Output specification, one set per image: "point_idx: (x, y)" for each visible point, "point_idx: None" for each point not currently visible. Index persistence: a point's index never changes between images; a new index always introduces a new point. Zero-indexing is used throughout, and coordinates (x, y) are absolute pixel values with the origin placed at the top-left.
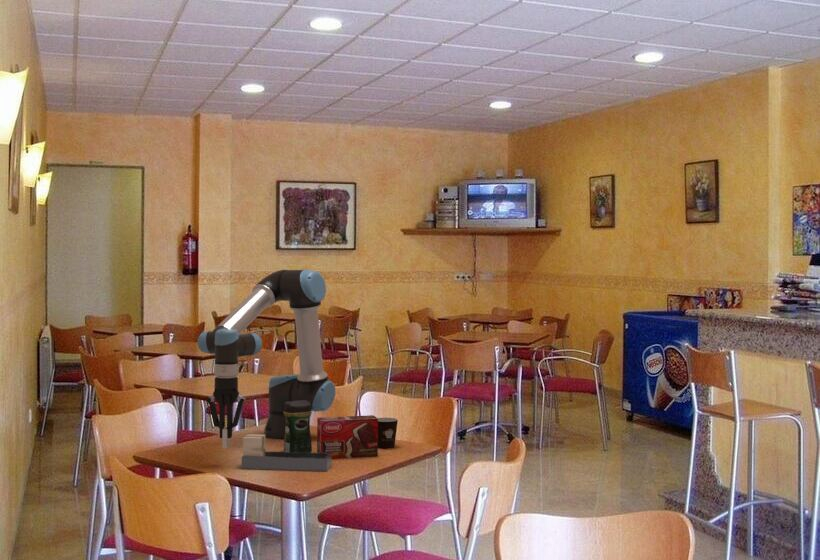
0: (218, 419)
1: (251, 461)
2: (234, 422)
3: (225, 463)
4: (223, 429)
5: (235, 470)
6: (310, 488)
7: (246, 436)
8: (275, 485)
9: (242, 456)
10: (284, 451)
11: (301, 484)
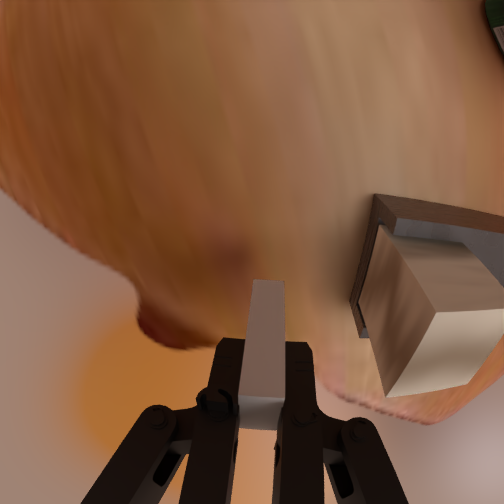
0: (158, 461)
1: None
2: (342, 476)
3: (259, 209)
4: (247, 425)
5: (327, 322)
6: (460, 404)
7: (412, 370)
8: (413, 408)
9: (363, 337)
10: (497, 35)
11: (458, 392)
